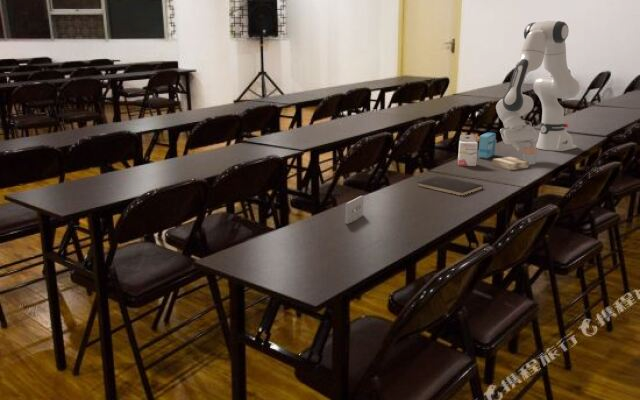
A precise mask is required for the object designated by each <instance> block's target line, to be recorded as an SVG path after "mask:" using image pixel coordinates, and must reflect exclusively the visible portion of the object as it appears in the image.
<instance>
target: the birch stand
mask: <svg viewBox="0 0 640 400" xmlns="http://www.w3.org/2000/svg"><path fill="white" fill-rule="evenodd" d="M491 164H492V166H495V167H497V168H501V169H504V170H507V171H513V170H514V171H515V170H519V169H527V168H529V166H530V165H529V161H526V160H522V159H521V158H518V157H515V156H504V157H498V158H492V163H491Z"/></svg>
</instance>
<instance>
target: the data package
mask: <svg viewBox="0 0 640 400" xmlns="http://www.w3.org/2000/svg"><path fill="white" fill-rule="evenodd" d="M496 139H497V134H496V133H495V132H485V133H483V134H481V135H480V136H479V143H478V158H481V159H486V160H487V159H489V158H491V157H493V156H494V155H495V154H496V153H495V151H496Z"/></svg>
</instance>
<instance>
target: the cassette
mask: <svg viewBox="0 0 640 400" xmlns="http://www.w3.org/2000/svg"><path fill="white" fill-rule="evenodd" d="M344 209H345V216H344V217H345V219H344V220H345V221H344V223H345V224H347V225H348V224H350V223H353V222H355V221H356V220H358V219H360V218H361V217H362V216H363V215H364V195H360V196H357V197H356V198H354V199H352V200H350V201H348V202H346V203H345V208H344Z"/></svg>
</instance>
